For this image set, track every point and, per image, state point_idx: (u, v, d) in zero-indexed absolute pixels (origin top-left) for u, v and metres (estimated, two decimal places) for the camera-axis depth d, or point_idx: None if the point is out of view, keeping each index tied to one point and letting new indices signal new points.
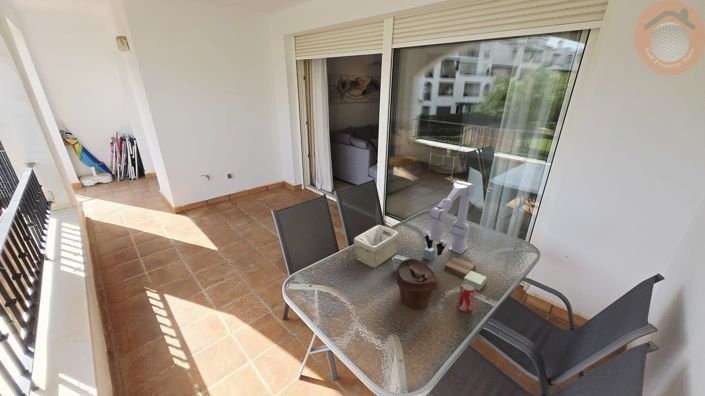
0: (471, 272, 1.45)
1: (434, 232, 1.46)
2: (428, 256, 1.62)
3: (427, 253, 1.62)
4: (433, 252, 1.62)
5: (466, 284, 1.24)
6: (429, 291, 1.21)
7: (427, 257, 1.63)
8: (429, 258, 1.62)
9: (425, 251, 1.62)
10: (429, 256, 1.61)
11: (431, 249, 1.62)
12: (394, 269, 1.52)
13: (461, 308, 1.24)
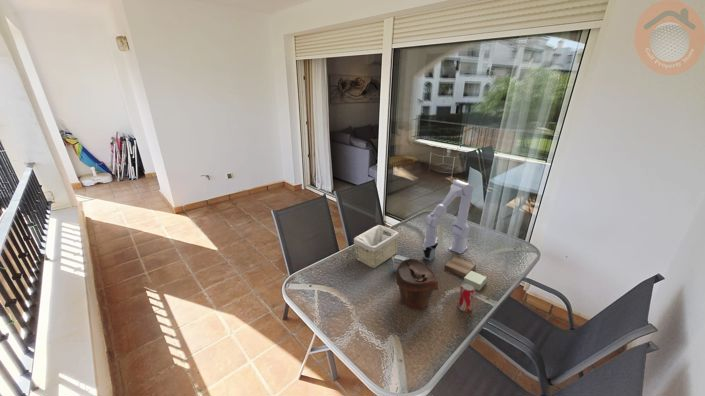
0: (471, 272, 1.45)
1: None
2: None
3: None
4: (433, 252, 1.62)
5: (466, 284, 1.24)
6: (429, 291, 1.21)
7: None
8: (429, 258, 1.62)
9: None
10: (429, 256, 1.61)
11: None
12: (394, 269, 1.52)
13: (461, 308, 1.24)
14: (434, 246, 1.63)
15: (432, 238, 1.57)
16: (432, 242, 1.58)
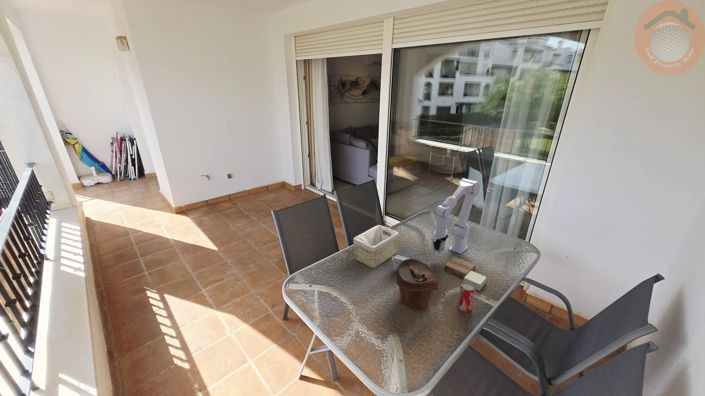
0: (471, 272, 1.45)
1: None
2: None
3: None
4: (443, 244, 1.57)
5: (466, 284, 1.24)
6: (429, 291, 1.21)
7: None
8: (438, 250, 1.56)
9: None
10: (439, 248, 1.56)
11: None
12: (394, 269, 1.52)
13: (461, 308, 1.24)
14: (444, 238, 1.57)
15: (442, 230, 1.51)
16: (442, 234, 1.52)
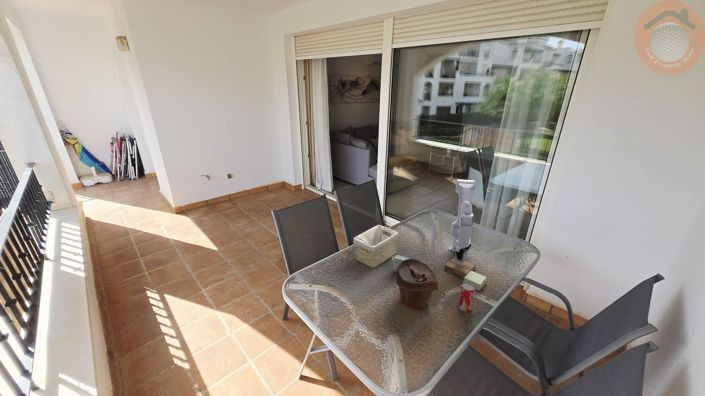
0: (471, 272, 1.45)
1: (458, 235, 1.48)
2: None
3: None
4: (465, 254, 1.50)
5: (466, 284, 1.24)
6: (429, 291, 1.21)
7: None
8: (461, 260, 1.49)
9: None
10: None
11: None
12: (394, 269, 1.52)
13: (461, 308, 1.24)
14: (467, 247, 1.50)
15: (466, 239, 1.44)
16: (466, 243, 1.45)
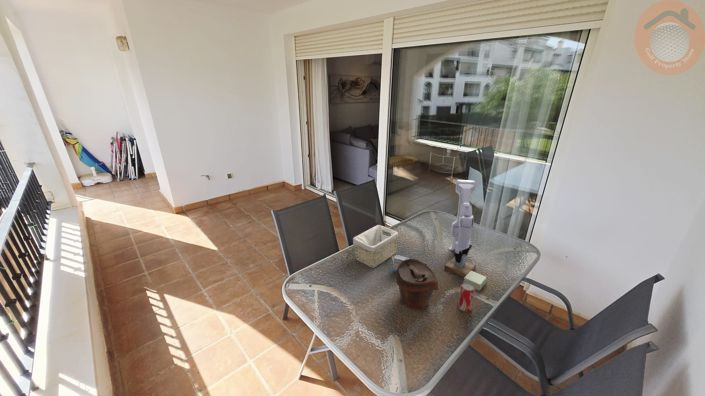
0: (471, 272, 1.45)
1: (458, 237, 1.48)
2: None
3: None
4: (465, 259, 1.51)
5: (466, 284, 1.24)
6: (429, 291, 1.21)
7: (458, 264, 1.51)
8: (460, 265, 1.51)
9: None
10: (460, 263, 1.50)
11: None
12: (394, 269, 1.52)
13: (461, 308, 1.24)
14: (468, 248, 1.51)
15: (466, 241, 1.45)
16: (466, 245, 1.46)
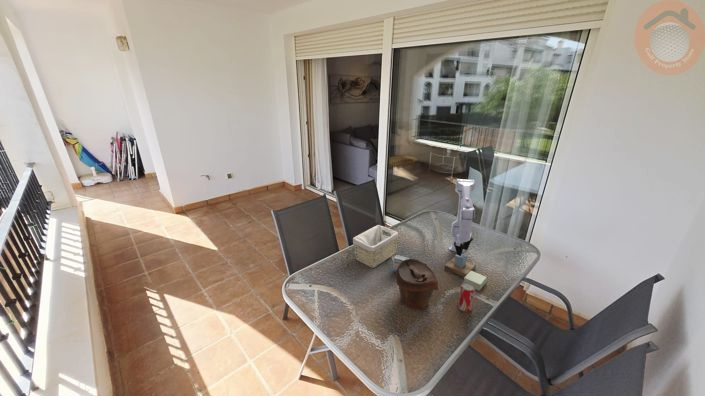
0: (471, 272, 1.45)
1: (459, 230, 1.46)
2: (459, 262, 1.51)
3: (459, 260, 1.50)
4: (465, 259, 1.51)
5: (466, 284, 1.24)
6: (429, 291, 1.21)
7: (458, 264, 1.51)
8: (460, 265, 1.50)
9: (456, 257, 1.51)
10: (460, 263, 1.50)
11: (463, 256, 1.50)
12: (394, 269, 1.52)
13: (461, 308, 1.24)
14: (469, 241, 1.50)
15: (467, 233, 1.43)
16: (467, 237, 1.44)
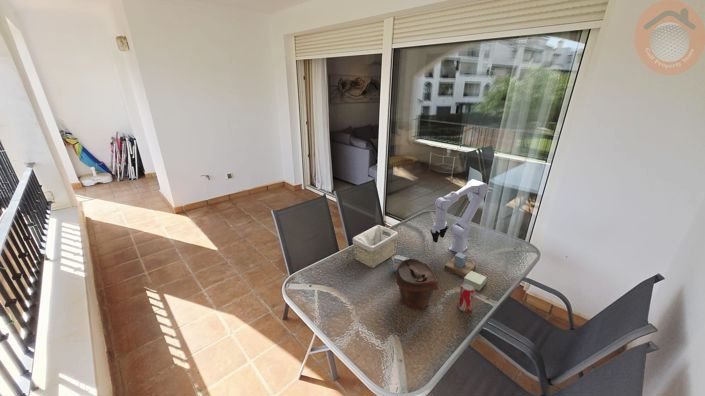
0: (471, 272, 1.45)
1: (435, 218, 1.60)
2: (459, 262, 1.51)
3: (458, 260, 1.51)
4: (464, 259, 1.51)
5: (466, 284, 1.24)
6: (429, 291, 1.21)
7: (458, 264, 1.51)
8: (460, 265, 1.51)
9: (456, 257, 1.51)
10: (460, 263, 1.50)
11: (462, 255, 1.51)
12: (394, 269, 1.52)
13: (461, 308, 1.24)
14: (445, 229, 1.63)
15: (442, 221, 1.56)
16: (442, 225, 1.57)
